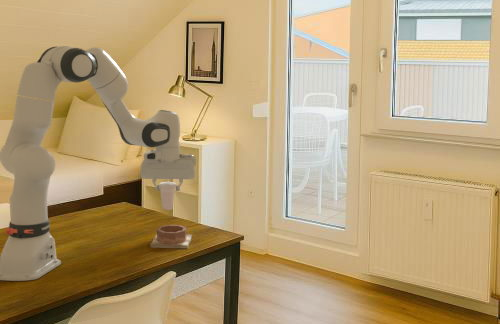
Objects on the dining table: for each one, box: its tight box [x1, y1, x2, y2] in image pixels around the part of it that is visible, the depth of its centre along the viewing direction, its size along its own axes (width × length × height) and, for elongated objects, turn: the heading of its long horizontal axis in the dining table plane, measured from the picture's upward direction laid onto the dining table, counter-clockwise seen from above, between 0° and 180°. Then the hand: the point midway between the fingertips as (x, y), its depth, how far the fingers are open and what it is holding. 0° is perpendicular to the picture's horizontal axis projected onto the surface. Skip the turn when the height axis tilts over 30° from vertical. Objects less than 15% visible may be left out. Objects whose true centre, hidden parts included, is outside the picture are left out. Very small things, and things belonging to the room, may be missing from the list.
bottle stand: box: [149, 224, 193, 249], centre depth 221 cm, size 13×13×5 cm
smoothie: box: [158, 179, 177, 211], centre depth 230 cm, size 6×6×14 cm
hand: (167, 190), depth 230 cm, fingers closed on smoothie, 6 cm apart
